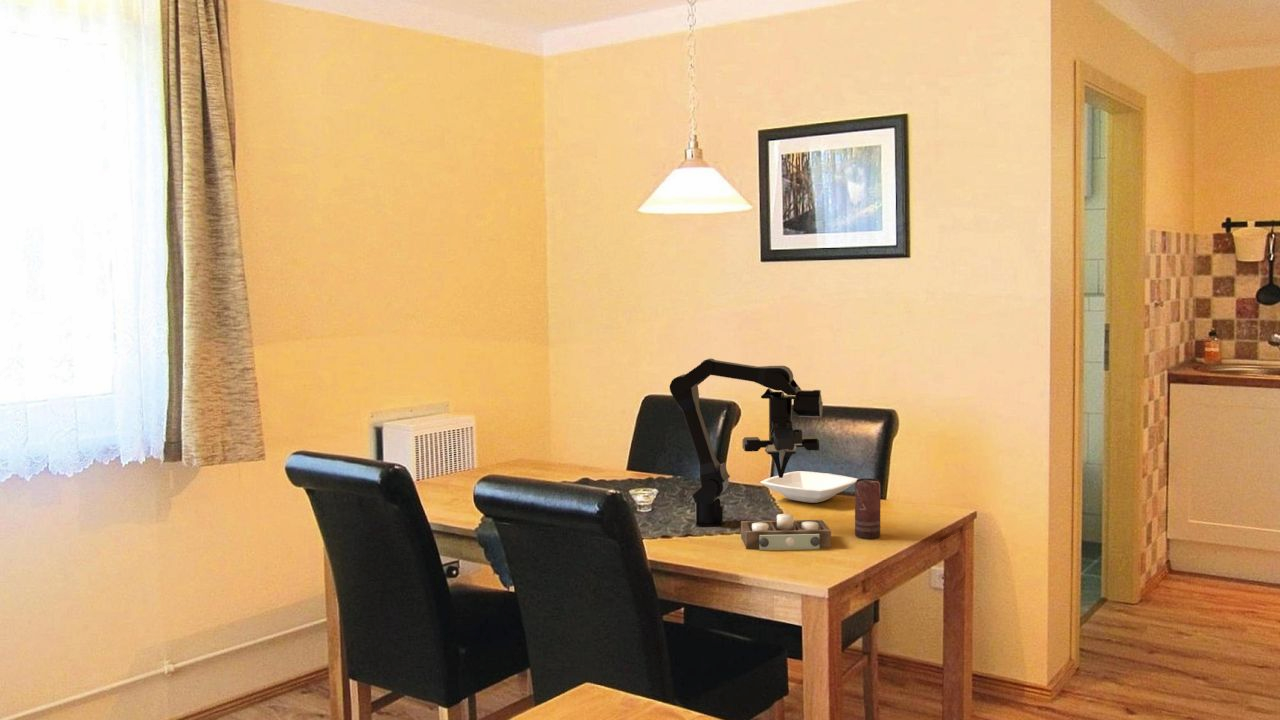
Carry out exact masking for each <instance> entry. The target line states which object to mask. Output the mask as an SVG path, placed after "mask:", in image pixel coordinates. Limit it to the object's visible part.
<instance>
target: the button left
mask: <svg viewBox="0 0 1280 720" xmlns="http://www.w3.org/2000/svg"><path fill="white" fill-rule="evenodd" d="M752 531H769V524H767V523H762V522H758V523H753V524H752Z"/></svg>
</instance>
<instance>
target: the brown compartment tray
mask: <svg viewBox="0 0 1280 720" xmlns="http://www.w3.org/2000/svg"><path fill="white" fill-rule="evenodd" d="M808 521H810V522H817V523H818V530H802V522H808ZM758 522H762V523H767V524H769V531H752V524H753V523H758ZM789 534H819V540H820V543H819V549H820V548H823V549H824V548H825V547H826V548H832V530H831V529H830V528H829V526H828V525H827V524H826V522H825V521H824V520H823V519H803V520H802V519H800V520H799V519H795V520H794V528H793V529H791V530H780V529H777V520H744V521H743V520H742V521H740V535H741V536H740V537H741V540H742V543H743V544H744V547H745V549H746V550H754V549H755V550H758V549H759V550H760V543H759V541H760V535H789Z"/></svg>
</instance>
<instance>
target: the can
mask: <svg viewBox="0 0 1280 720" xmlns="http://www.w3.org/2000/svg"><path fill="white" fill-rule="evenodd" d="M857 479H858V480H857V481H856V482H855V483H854V535H855V537H856V538H858V539H863V540H875V539H878V538H880V536H881V493H882V491H881V486H882V485H881V482H880V480H879V479H876V478H866V477H865V478H857Z"/></svg>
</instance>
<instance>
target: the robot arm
mask: <svg viewBox="0 0 1280 720" xmlns="http://www.w3.org/2000/svg"><path fill="white" fill-rule="evenodd" d="M710 376H714V377H715V376H716V377H721V378H729V379H733V380H740V381H748V382H753V383H754V384H755V383H756V384H758V385H760V386H762V387H765V388H767V389H766V390H765V392H764V393H763V394H762V395H761V396H760V398H761V399H767V400H768V433H769V434H768V439H763V440H762V439H760V438H759V437H758V436H747V437H746V436H745V437H743V439H742V449H743V451H744V452H748V453H749V452H758V451H759V450H761V449H763V448H764V451H765V453H766V454H767V455H770V456H771V458H772V461H773V464H774V466H775V470H776V472H777V473H776V474H777V476H779V478H783V475H784V474H785V471H786V468H787V466H788V462H789V461H790V459H791V457H792V456H793V455H795V454H797V451H796V449H797V448H804V449H805V450H806V451H820V441H819V439H818V438H816V437H815V435H803V429H793V413H794V414H796V415H797V417H800V418H822V416H823V407H824V405H823V399H822V395H821V393H822V392H821V391H822V390H820V389H814V390H813V389H811V390H806V389H805V390H804V389H803V390H802V389H801V387H800V386H799V385H798V383H797V382H796V381H795V379H794V374H793V371H792V370H791V369H790V367H788V366H786V365H767V366H766V365H764V366H763V365H762V366H756V365H750V364H743V363H742V364H741V363H737V362H731V361H722V360H718V359H714V358H708V359H707V358H706V359H704V360H703V361H701V363H700V364H699V365H697V366H696V367H694V368H693V369H691V370H690V371H689V372H687V373H685V374H681V375H679V376H677V377H674V378H673V379H672V380H671V382H670V384H669V392H670V394H671V396H672V398H673V400H674V401H675V403H676V404H677V406H678V407H679V409H681V411H682V413H683V416H684V418H685V422H686V425H687V429H688V432H689V435H690V438H691V441H692V444H693V447H694V450H695V454H696V456H697V459H698V462H699V479H700V480H699V481H700V488H699V489H698V490H697V491H695V493H693V495H692V497H693V501H694V503H695V505H694V506H695V507H694V511H695V513H694V514H695V518H694V524H695V526H696V527H718V526H719V527H721V526H722V523H723V518H724V517H723V516H724V515H723V512H724V511H723V505H722V504H721V499H720V497H721V496H722V493H724V491H725V490H727V488H728V487H729V485H730V484H729V483H730V480H729V478H730V477H731V475H730V474H729V473H728V470H727V464H726V462H723V463H720V461H719V460H718V459H717V457H716V454H715V451H714V449H713V445H712V442H711V439H710V437H709V433H708V430H707V427H706V424H705V421H704V417H703V415H702V411H701V409H700V394H699V393H700V392H699V387H698V385H700V384H702V383H703V382H704V381H706V379H707V378H709V377H710ZM780 451H781V452H780ZM780 454H781V455H780Z"/></svg>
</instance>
